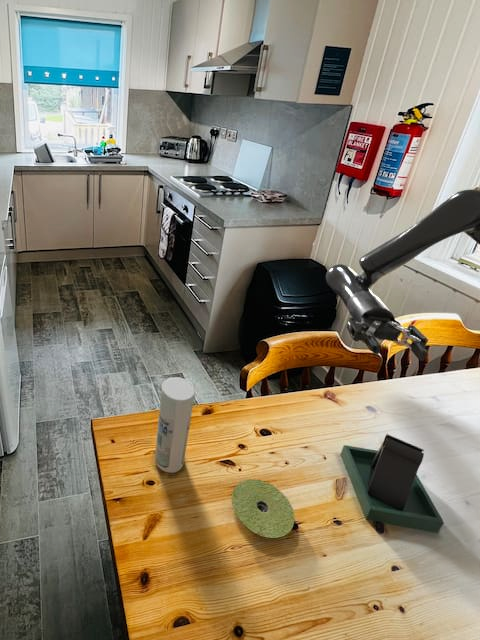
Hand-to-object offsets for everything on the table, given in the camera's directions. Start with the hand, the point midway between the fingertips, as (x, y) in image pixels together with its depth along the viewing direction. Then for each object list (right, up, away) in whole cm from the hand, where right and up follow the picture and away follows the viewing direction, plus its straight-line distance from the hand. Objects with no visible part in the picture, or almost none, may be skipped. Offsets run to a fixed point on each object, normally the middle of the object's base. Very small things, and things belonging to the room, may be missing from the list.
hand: (400, 353), depth 80 cm
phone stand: (-3, -27, 0) cm, 27 cm away
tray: (-3, -28, +1) cm, 28 cm away
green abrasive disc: (-30, -29, -5) cm, 43 cm away
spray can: (-47, -24, +5) cm, 53 cm away
